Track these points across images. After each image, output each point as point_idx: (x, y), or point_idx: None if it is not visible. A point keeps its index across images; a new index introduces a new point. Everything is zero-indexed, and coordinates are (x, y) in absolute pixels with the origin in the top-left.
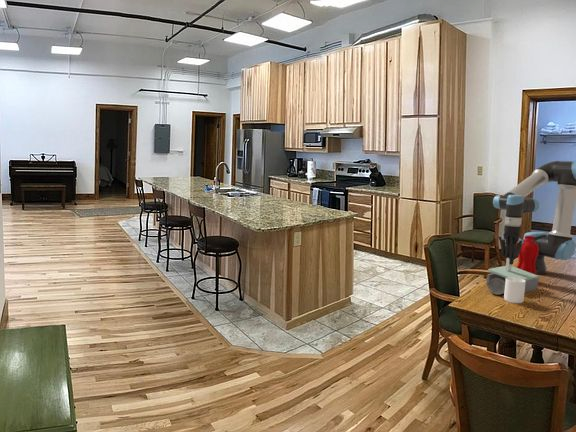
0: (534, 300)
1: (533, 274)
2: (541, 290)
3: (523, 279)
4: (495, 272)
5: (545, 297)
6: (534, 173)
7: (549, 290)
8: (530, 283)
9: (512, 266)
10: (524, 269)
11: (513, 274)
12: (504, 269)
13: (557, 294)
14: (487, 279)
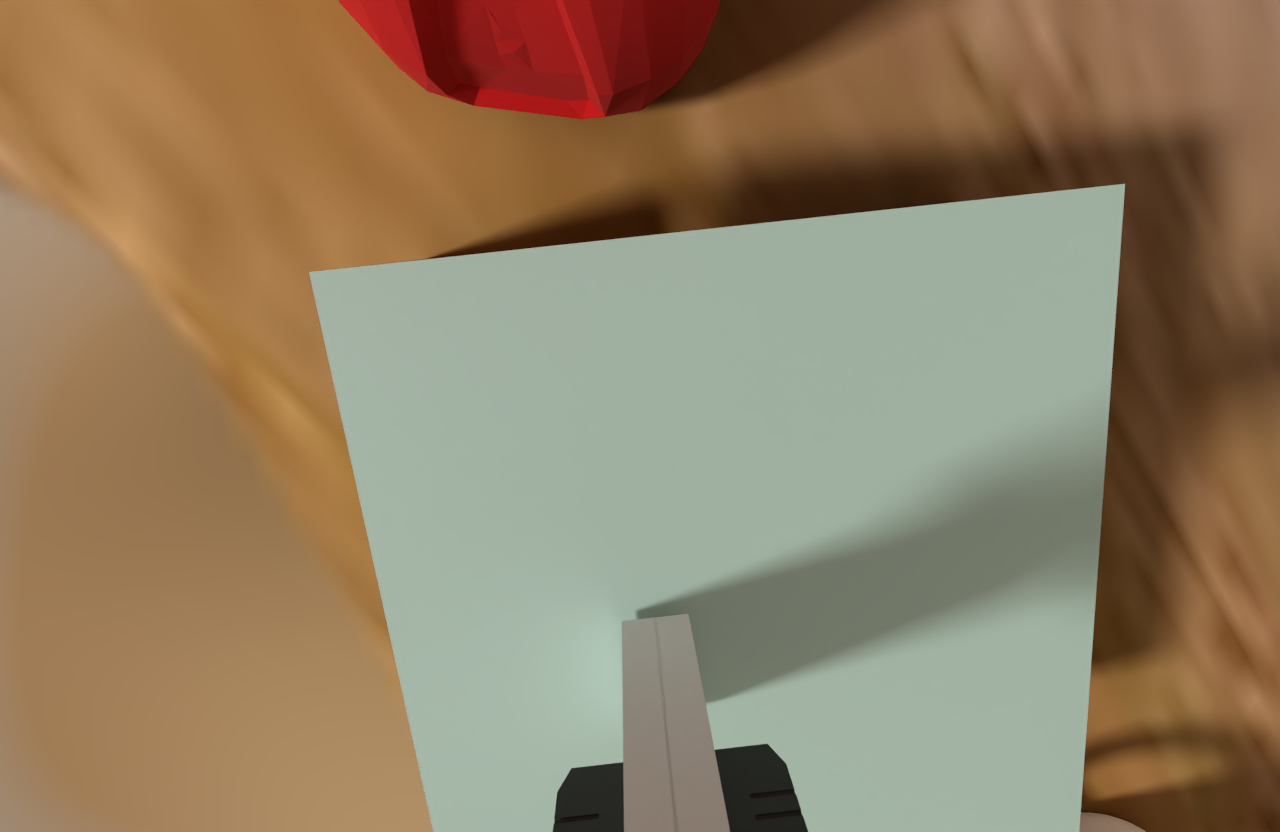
0: (1199, 682)
1: (1020, 235)
2: None
3: (1085, 718)
4: None
5: (1226, 451)
6: None
7: (1098, 55)
8: None
9: (434, 284)
10: (627, 21)
11: (854, 718)
12: (574, 690)
13: (1270, 139)
14: None
